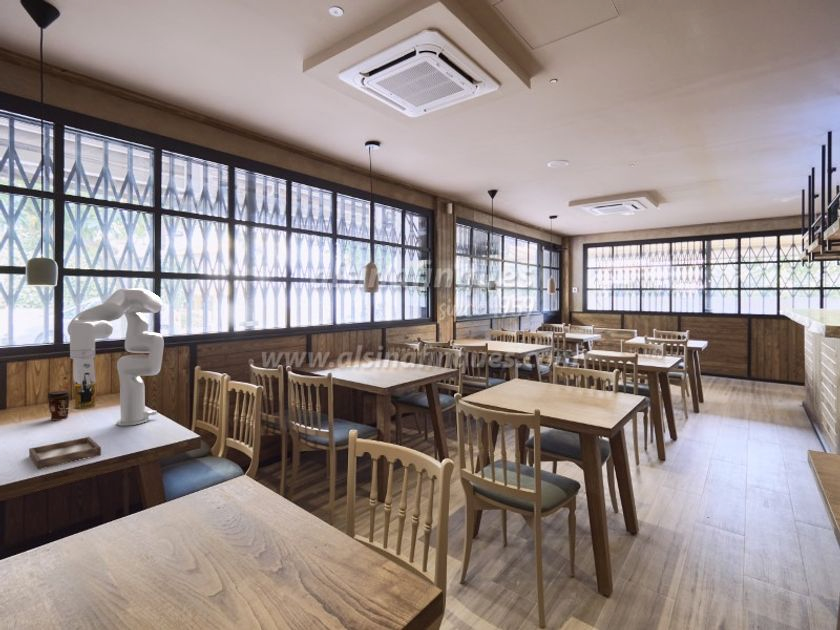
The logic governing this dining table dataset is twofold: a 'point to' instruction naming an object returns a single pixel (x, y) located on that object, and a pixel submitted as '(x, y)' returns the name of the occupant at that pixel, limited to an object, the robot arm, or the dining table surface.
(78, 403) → the condiment
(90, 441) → the tray
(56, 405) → the coffee cup
